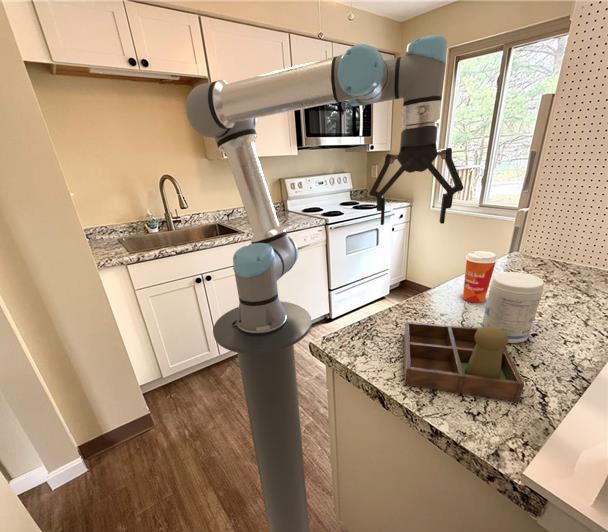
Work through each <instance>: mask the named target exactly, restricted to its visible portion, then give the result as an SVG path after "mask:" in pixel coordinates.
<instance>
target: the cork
mask: <svg viewBox="0 0 608 532" xmlns="http://www.w3.org/2000/svg"><path fill="white" fill-rule="evenodd" d="M478 328H479V329H478V330H477V331H476V333H475V342H476V346H475V348H474V350H473V353H472V355H471V358H470V360H469V363H468V365H467V368H466V370H465V374H466V375H474V376H482V377H489V378H497V379H500V375H501V360H502V349H503V348H505V347H506V346H507V345H508V344H509V343H508V336H507V334H506V333H505V332H504V331H503V330H501V329H499V328H496V327H490V326H485V327H478Z"/></svg>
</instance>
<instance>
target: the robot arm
mask: <svg viewBox="0 0 608 532" xmlns="http://www.w3.org/2000/svg"><path fill="white" fill-rule="evenodd" d="M447 48H448V40H447V39H446V37H445V36H444V35H442V34H431V35H427V36H426V35H425V36H422V37H420V38H417V39H414V40H412V41H410V42H409V43H408V44H407V46H406V51H405V53H404V55H401V56H398V57H394V58H390V59H384V58H383V55H382V54H381V52H380V51H379V50H378V49H377V48H376V47H375V46H372V45H370V44H368V43H357V44H355V45H353V46H351V47H350V48H349V49H347V50H346V51H345V52H344V53H343V54H339V55H335V56H332V57H328V58H323V59H319V60H316V61H312V62H308V63H304V64H300V65H295V66H292V67H288V68H285V69H281V70H275V71H272V72H269V73H266V74H260V75H257V76H253V77H248V78H245V79H240V80H237V81H233V82H229V83H228V82H227V81H226V80H223V79H218V80H215V81H210V82H205V83H202V84H199V85H197V86H196V87H194V88H192V90H191V91H190V92H189V94H188V96H187V99H186V103H185V113H186V117H187V120H188V122H189V125H191V127H192V129H194V131H196V132H197V133H198V134H200V135H201V136H203V137H206V138H214V140H215V142H216V145H217V149H218V151H220V152H222V153H224V154H225V156H226V158H227V161H228V164H229V167H230V171H231V172H232V173H231V174H232V177H233V179H234V182H235V184H236V187H237V190H238V193H239V196H240V199H241V202H242V205H243V208H244V211H245V214H246V217H247V219H248V223H249V225H250V228H251V231H252V234H253V235H252V237H251V239H250V242H251V243H250V244H248V245H244V246H241V247H240V248H238V249H237V250H236V251H235V252H234V254H233V256H232V263H233V264H232V269H233V272H234V278H235V283H236V289H237V290H236V291H237V295H238V296H237V297H238V301H239V304H238V307H239V309H238V314H237V320H236V321H234V322H233V323H232V325H234V324H236V323H237V327H238V329H239V330H240V331H241V332H243V333H245V334H249V335H266V334H270V333H273V332H276V331H278V330H280V329H281V328H283V327H284V326H285V324H286V322H287V318H286V313H285V311H284V308H283V306H282V304H281V302H280V301H281V300H280V298H279V291H278V290H279V289H278V280H279V279H281V278H282V277H284V275H286V274H287V273H288V272H289V271H291V270H292V268H293V267H294V266H295V264H296V263H297V260H298V258H299V249H298V245H297V243H296V241H295V240H294V239H293V238H292V237H290V236H289V234H288V232H287V228H285V227H284V226H282V225H280V222H279V219H278V216H277V213H276V210H275V207H274V203H273V200H272V197H271V194H270V190H269V187H268V184H267V181H266V178H265V174H264V172H263V169H262V165H261V161H260V159H259V156H258V153H257V150H256V146H255V143H256V140H257V138H258V135H257V132H256V124H257V123H258V118H264V117H268V116H274V115H278V114H284V113H288V112H294V111H300V110H304V109H310V108H314V107H319V106H324V105H329V104H334V103H341V102H342V103H343V102H348V104H349V106H351V107H359V106H362V107H365V106H367V105H373V104H377V103H383V102H388V101H393V100H400V99H402V100H403V101H402V112H401V113H402V116H401V127H402V128H403V129H402V130H401V131H400V132H401V133H400V141H399V142H400V143H399V144H400V145H399V147H400V148H399V152H398V153H396V154H395V153H393V154H392V153H387V154H385V156H384V157H385V158H384V164H383V165H382V168H381V170H380V172H379V173H378V176H377V178H376V179H375V181H374V184H373V185H372V187H371V190H370V191H369V196H371V197H375V198H376V212H380V226H384V225H385V217H386V196H384V195H385V193H387V192H388V191H389V189H390V188H391V187H392V186H393V185H394V184H395V182H396V181H398V179H399V178H400V176H402V174H404V173H405V172H406V173H408V174H410V173H415V172H418V173H421V172H422V173H423V172H425V171H426V170H428V171H429V172H430V174H431V175H432V176H433V177H434V178H435V179H436V181H437V182H438V183H439V184H440V186H441V187H442V188H443V190H445V191H446V193H445V192H444V193H442V198H441V206H440V213H439V223H440V224H441V225H442V224H445V220H446V212H447V209H452V206H453V199H454V195H455V194H456V193H458V192H461V191H463V190H464V185H463V182H462V179H461V178H460V175H459V172H458V170H457V167H456V165H455V163H454V160H453V149H452V148H451V147H446V148H443V149H439V150H438V148H437V143H438V135H439V127H438V125H437V123H439V122H440V115H441V107H442V106H441V105H442V96H443V89H444V81H445V74H446V65H447V63H446V62H447ZM438 156H439V157H440V159H441V160H444V162H445V166H446V168H447V170H448V173H449V174H450V177H451V180H452V182H453V184H454V186H452V185H450V183H448V181H447V180H446V179H445V178H444V176H443V175H442V173H440V171H439V170H438V169H437V168H436V166H435V165H434V164H433V162H434V161H435V160H436V158H437V157H438ZM396 160H397V161H398V164H400V167H399V168H398V169H397V170H396V171H395V173H394V174H393V175H392V176H391V177H390V179H389V180H388V181H387V182H386V183H385V184H384V185H383V186H382V187H381V189H380V190H378V188H379V187H380V185H381V183H382V180H383V179H384V177H385V175H386V173H387V172H388V169H389V167H390V165H392V164H394V162H395V161H396Z"/></svg>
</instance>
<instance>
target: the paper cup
mask: <svg viewBox="0 0 608 532" xmlns="http://www.w3.org/2000/svg"><path fill="white" fill-rule="evenodd" d="M465 260H466V261H465V262H466V263H465V271H464V272H465V273H464V282H463V292H462V293H463V294H462V298H463V300H464V301H466V302H469V303H476V304H477V303H483V302H484V301H485V300H486V297H487V294H488V291H489V288H490V284H491V281H492V278H493V273H494V269H495V265H496V263H497V262H498V258H497V254H496V253H494V252H492V251H484V250H475V251H470V252H468V253H467V255H466V257H465Z"/></svg>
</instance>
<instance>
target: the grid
mask: <svg viewBox="0 0 608 532" xmlns="http://www.w3.org/2000/svg"><path fill="white" fill-rule="evenodd" d="M404 323H405V324H404V334H403V340H404V341H403V344H404V345H403V346H404V350H403V354H404V357H403V358H404V386H408V387H409V386H411V387H416V388H424V389H431V390H436V391H443V392H450V393H457V394H464V395H471V396H477V397H483V398H484V397H485V398H491V399H495V400H497V399H498V400H504V401H510V402H516V403H520V400H521V397H522V393H523V390H524V387H525V383H524V381H523V379H522V377H521V375H520V374H519V370H518V369H517V367H516V365H515V364H514V363H515V362H514V361H513V359H512V357H511V355H510V353H509V350H508V349H507V347H506V346H505V348H503V349H502V360H501V375H500V379H497V378H489V377H482V376H474V375H466V374H465V370H466V368H467V365H468V363H469V360H470V358H471V355H472V353H473V350H474V348H475V346H476V342H475V333H476V331H477V330H478V329H479V328H480V327H471V326H459V325H458V326H457V325H450V324H449V325H446V324H436V323H424V322H423V323H422V322H410V321H405V322H404Z"/></svg>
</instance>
